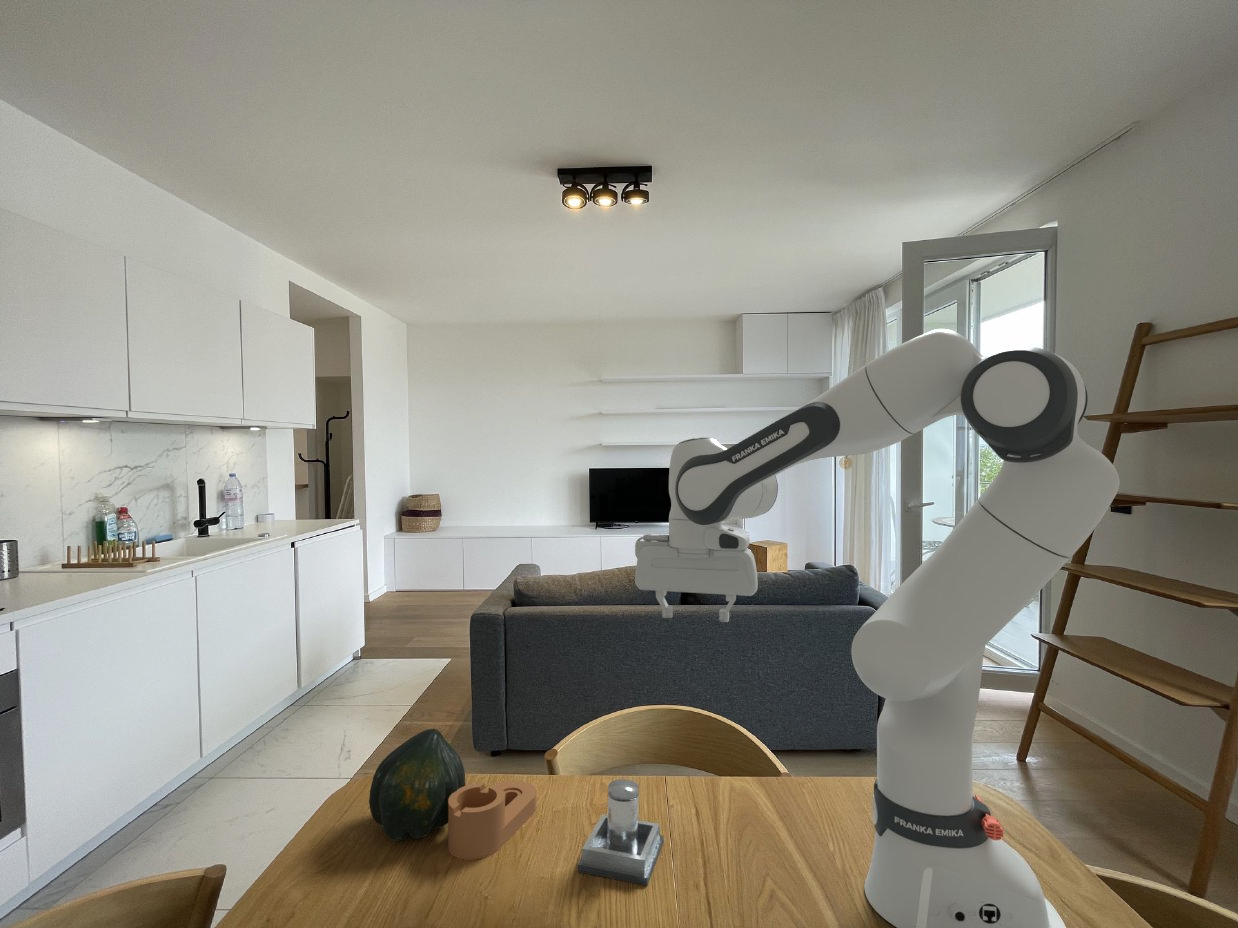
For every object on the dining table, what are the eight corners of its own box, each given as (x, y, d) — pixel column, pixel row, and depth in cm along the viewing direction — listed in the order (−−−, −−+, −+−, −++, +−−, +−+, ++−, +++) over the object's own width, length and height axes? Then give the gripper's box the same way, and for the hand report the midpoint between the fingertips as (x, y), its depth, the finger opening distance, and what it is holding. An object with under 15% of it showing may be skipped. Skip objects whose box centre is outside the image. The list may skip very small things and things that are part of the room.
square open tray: (663, 842, 92) (663, 822, 92) (647, 885, 83) (647, 862, 83) (600, 831, 95) (600, 811, 95) (577, 871, 86) (577, 849, 86)
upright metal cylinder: (640, 843, 90) (641, 781, 91) (633, 861, 86) (634, 796, 86) (611, 837, 92) (612, 777, 92) (603, 855, 87) (604, 791, 87)
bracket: (484, 866, 87) (484, 816, 87) (436, 852, 90) (436, 805, 90) (545, 802, 104) (545, 761, 104) (502, 793, 107) (502, 753, 107)
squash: (335, 818, 89) (407, 736, 90) (368, 772, 104) (429, 702, 105) (410, 881, 89) (480, 799, 91) (432, 826, 104) (492, 756, 106)
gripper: (630, 535, 102) (630, 619, 102) (755, 539, 96) (755, 628, 96) (639, 532, 108) (639, 610, 108) (758, 535, 103) (758, 618, 102)
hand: (695, 619), depth 102 cm, fingers open, 8 cm apart
